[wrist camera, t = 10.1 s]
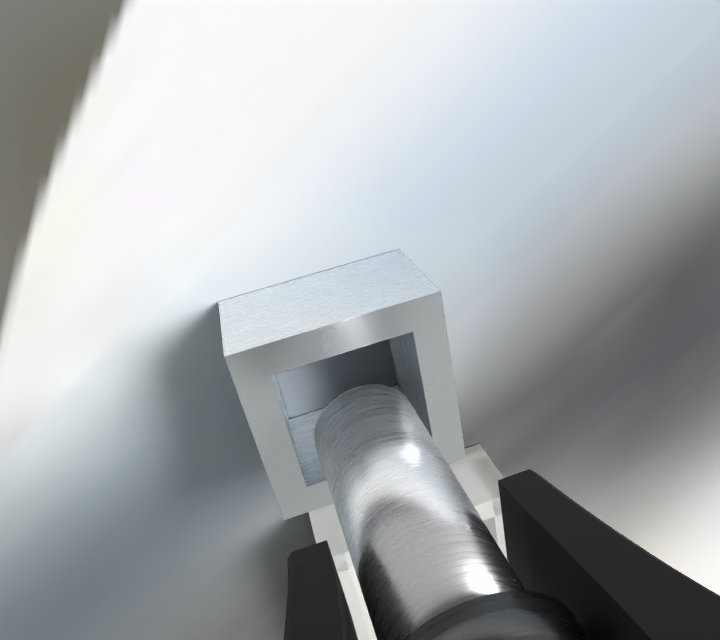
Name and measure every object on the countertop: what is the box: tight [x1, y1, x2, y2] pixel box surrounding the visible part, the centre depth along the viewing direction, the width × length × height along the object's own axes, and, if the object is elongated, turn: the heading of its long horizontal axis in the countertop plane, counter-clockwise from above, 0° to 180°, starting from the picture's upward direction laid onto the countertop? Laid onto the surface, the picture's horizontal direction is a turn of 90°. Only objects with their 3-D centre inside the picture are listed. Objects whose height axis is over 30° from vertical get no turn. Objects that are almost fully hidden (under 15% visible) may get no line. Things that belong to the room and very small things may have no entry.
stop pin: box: [314, 384, 591, 640], centre depth 11 cm, size 3×3×7 cm
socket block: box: [218, 249, 466, 520], centre depth 16 cm, size 5×5×3 cm
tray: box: [308, 444, 508, 640], centre depth 21 cm, size 6×10×2 cm, turn 12°
